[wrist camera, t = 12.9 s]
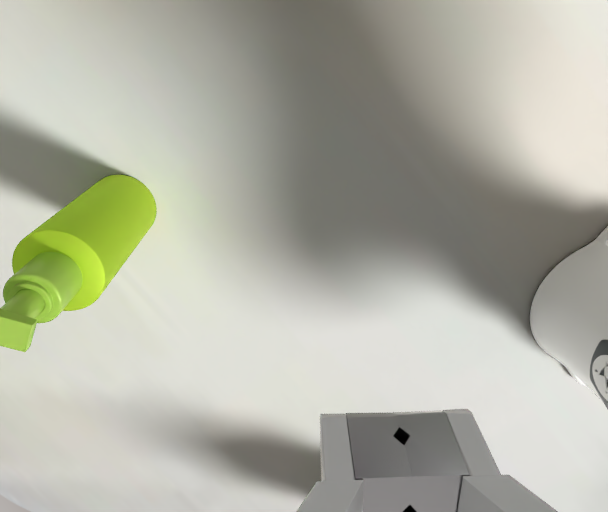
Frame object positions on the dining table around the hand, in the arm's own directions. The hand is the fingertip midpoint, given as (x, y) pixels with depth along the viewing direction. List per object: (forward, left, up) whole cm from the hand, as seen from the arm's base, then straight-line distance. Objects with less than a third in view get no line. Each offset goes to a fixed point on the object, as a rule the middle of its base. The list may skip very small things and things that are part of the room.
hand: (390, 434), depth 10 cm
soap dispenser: (+18, +6, -34) cm, 39 cm away
